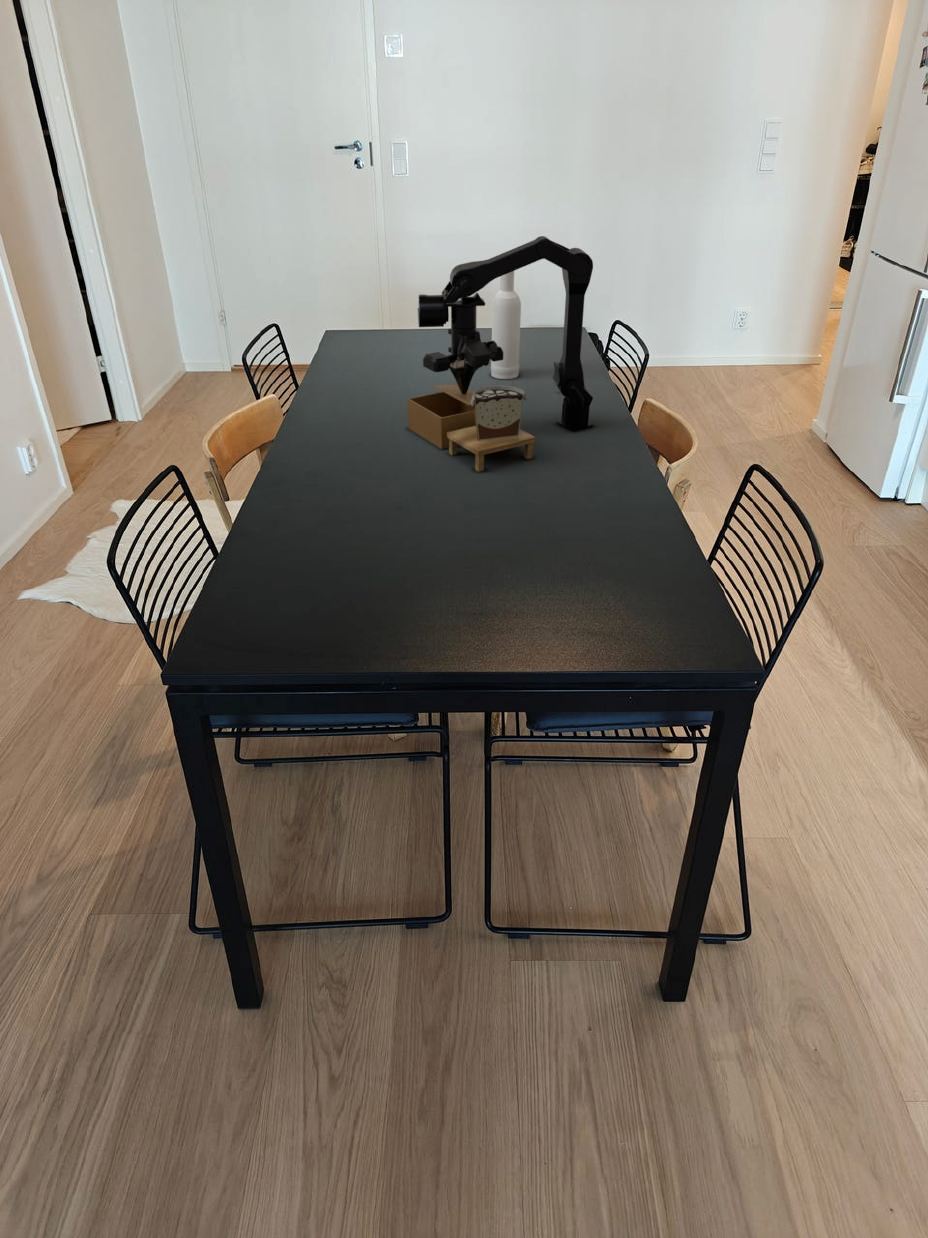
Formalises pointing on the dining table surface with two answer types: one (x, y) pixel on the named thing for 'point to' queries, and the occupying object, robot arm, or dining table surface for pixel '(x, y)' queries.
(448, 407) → the cardboard box
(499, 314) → the bottle
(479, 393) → the food container
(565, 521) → the dining table surface
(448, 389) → the flap
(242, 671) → the dining table surface
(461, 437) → the stool
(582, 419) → the robot arm
